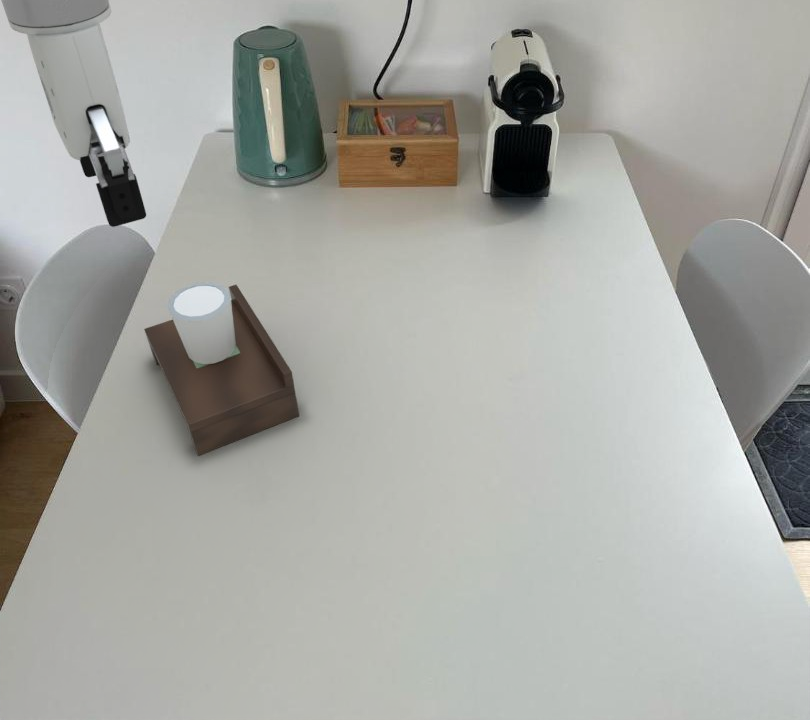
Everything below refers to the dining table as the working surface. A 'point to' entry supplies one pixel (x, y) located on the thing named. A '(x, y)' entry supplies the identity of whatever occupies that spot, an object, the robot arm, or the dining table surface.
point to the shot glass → (204, 321)
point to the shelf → (227, 381)
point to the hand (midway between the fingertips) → (114, 195)
